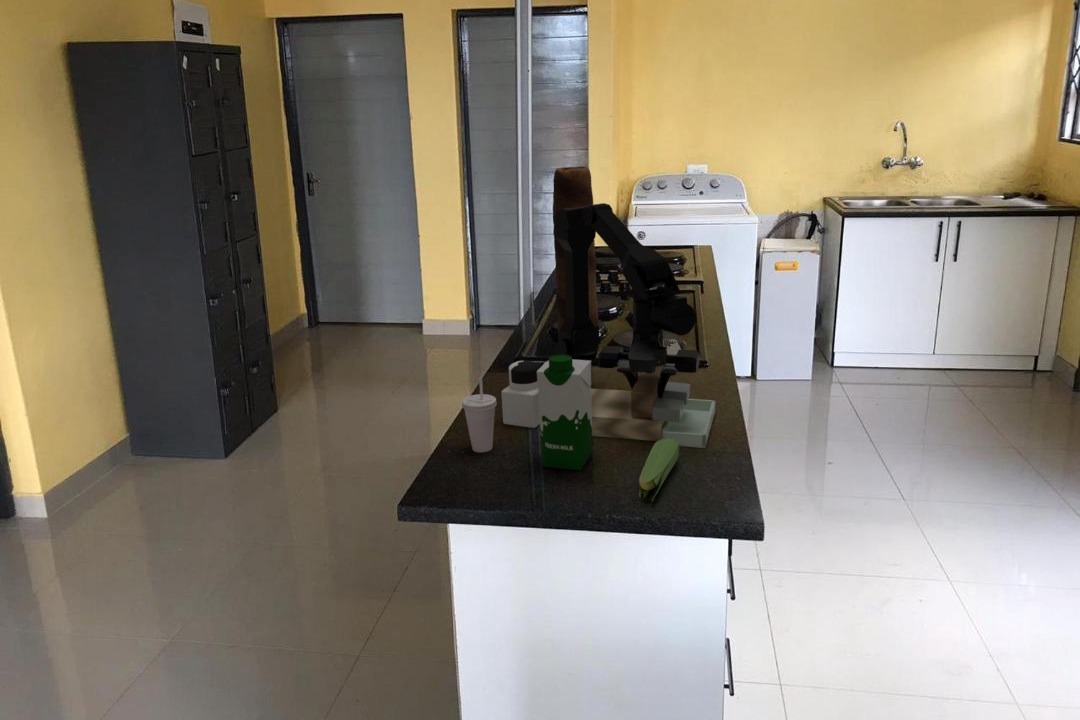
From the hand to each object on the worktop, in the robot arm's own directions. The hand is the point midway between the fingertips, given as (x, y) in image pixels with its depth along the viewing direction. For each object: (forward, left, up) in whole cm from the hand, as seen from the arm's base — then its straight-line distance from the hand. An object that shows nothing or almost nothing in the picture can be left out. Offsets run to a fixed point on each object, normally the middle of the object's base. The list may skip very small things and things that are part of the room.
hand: (648, 401), depth 167 cm
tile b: (+4, -5, -1) cm, 7 cm away
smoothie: (-28, -17, -5) cm, 33 cm away
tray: (+8, 0, -5) cm, 9 cm away
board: (-5, 0, -5) cm, 7 cm away
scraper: (0, 0, 0) cm, 0 cm away
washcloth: (-5, +42, -6) cm, 43 cm away
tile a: (+5, +5, -1) cm, 7 cm away
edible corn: (+5, -23, -6) cm, 25 cm away
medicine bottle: (-24, -2, -5) cm, 25 cm away
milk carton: (-11, -19, -5) cm, 23 cm away
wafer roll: (-25, +45, -5) cm, 52 cm away
